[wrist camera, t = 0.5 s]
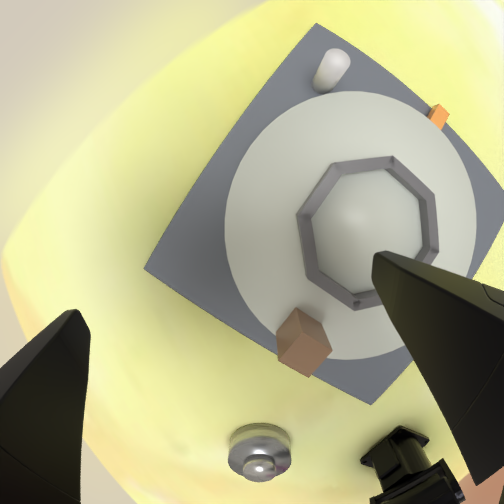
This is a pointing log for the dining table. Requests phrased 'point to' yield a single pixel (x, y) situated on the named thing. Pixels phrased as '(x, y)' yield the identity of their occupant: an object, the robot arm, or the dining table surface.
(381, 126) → the turntable
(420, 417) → the dining table surface
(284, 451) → the flange hub
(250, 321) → the turntable base
